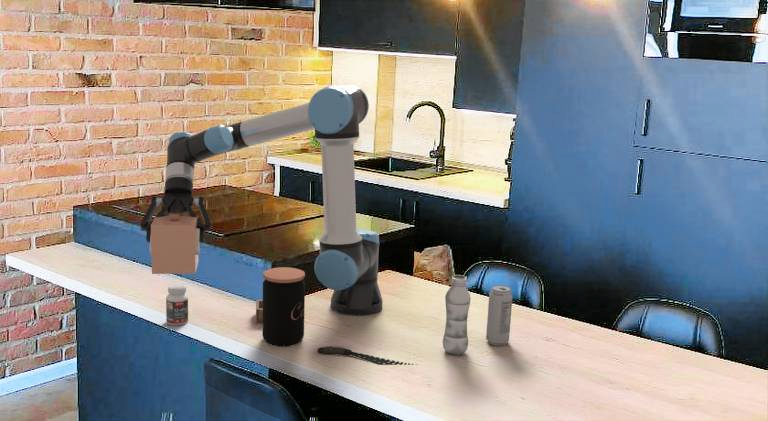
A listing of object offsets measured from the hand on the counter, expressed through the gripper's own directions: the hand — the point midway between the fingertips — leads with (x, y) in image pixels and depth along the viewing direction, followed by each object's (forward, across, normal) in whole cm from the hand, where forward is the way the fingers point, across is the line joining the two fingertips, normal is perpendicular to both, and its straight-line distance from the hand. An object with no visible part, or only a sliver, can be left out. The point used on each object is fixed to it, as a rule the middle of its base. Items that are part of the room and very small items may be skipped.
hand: (174, 252), depth 210 cm
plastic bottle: (+30, -71, +1) cm, 77 cm away
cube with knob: (+2, 0, -6) cm, 6 cm away
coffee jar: (+23, -28, -6) cm, 37 cm away
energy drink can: (+26, -84, -3) cm, 88 cm away
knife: (+33, -49, +4) cm, 59 cm away
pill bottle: (+13, 0, -16) cm, 21 cm away
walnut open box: (+11, -26, -18) cm, 33 cm away
